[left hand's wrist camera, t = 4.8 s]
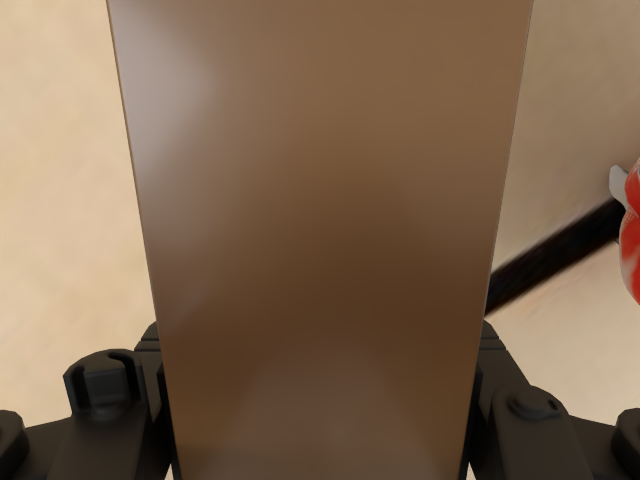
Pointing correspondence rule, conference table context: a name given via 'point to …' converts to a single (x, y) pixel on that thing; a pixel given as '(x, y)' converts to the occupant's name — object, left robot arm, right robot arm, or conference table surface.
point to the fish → (628, 224)
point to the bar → (319, 222)
